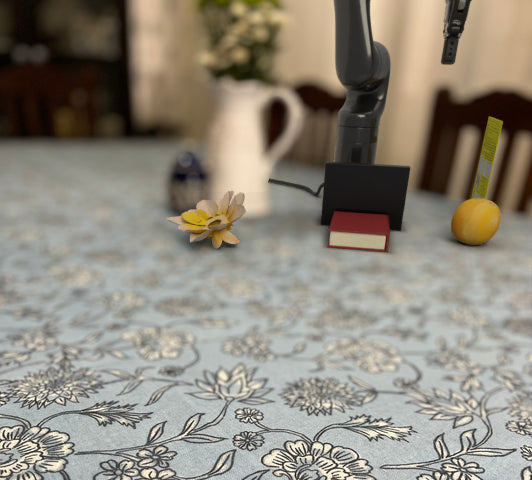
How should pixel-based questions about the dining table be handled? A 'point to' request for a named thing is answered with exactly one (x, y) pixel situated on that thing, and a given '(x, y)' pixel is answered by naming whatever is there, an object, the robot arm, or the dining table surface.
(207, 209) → the decorative flower
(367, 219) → the book
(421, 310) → the dining table surface
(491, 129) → the food package
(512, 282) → the dining table surface
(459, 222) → the fruit
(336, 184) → the bookend
